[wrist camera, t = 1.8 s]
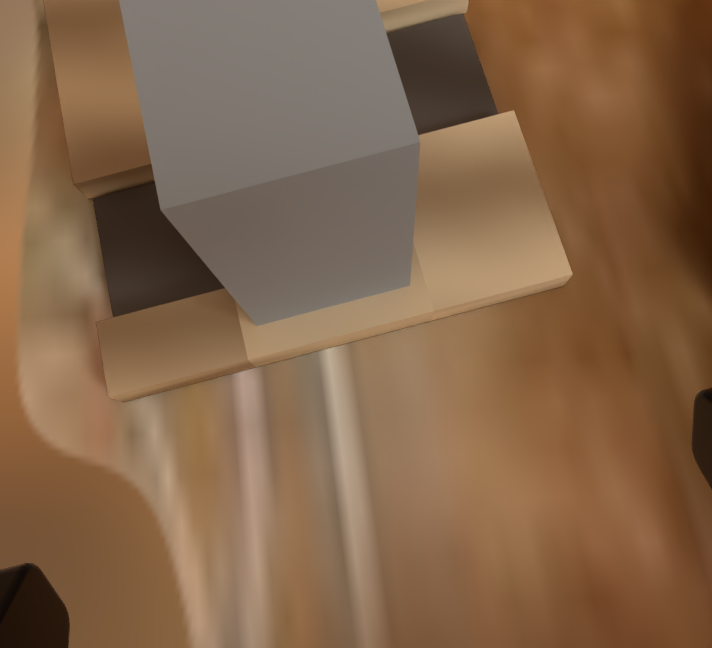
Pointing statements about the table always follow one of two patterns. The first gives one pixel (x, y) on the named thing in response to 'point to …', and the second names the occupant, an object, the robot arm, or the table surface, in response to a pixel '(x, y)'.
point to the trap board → (332, 324)
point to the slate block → (279, 145)
